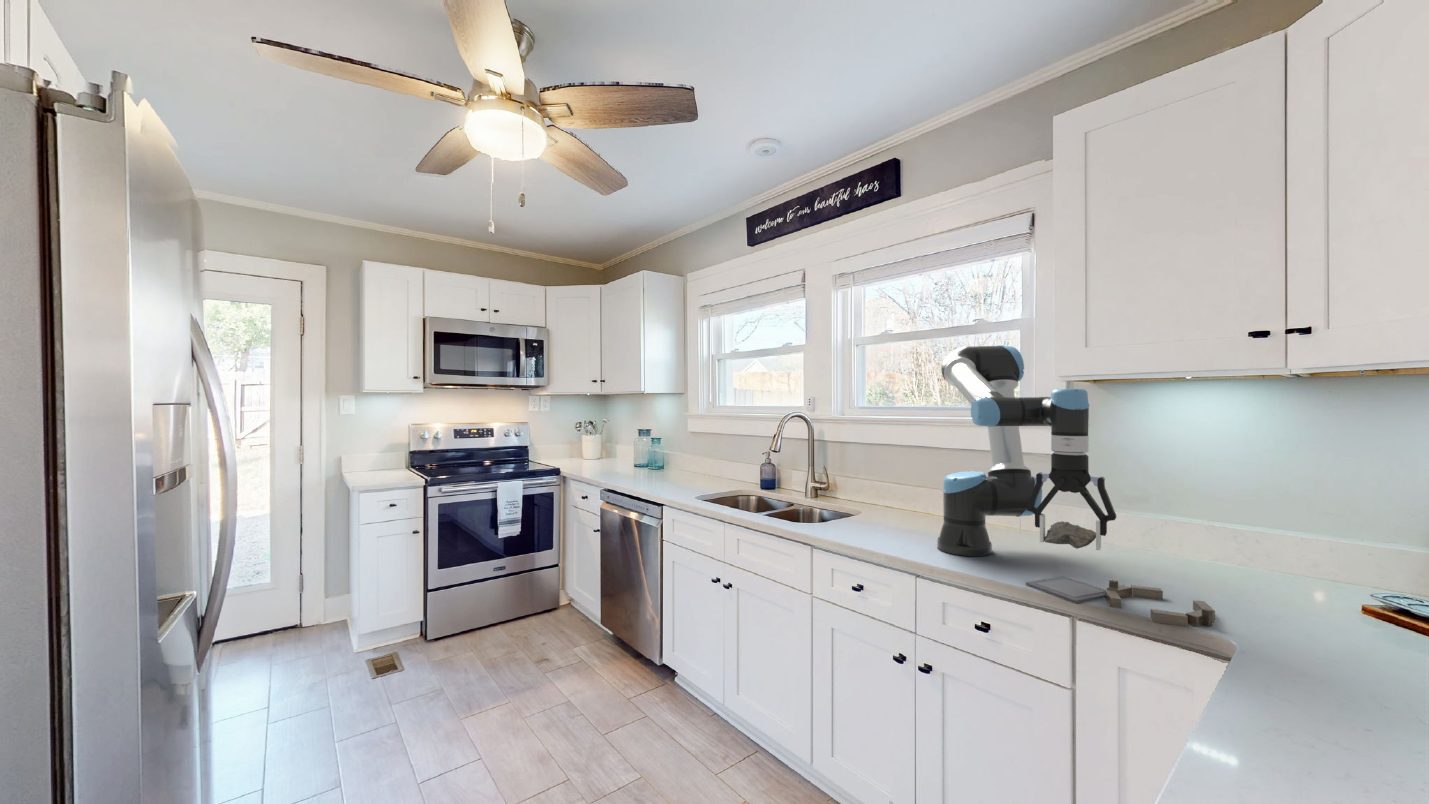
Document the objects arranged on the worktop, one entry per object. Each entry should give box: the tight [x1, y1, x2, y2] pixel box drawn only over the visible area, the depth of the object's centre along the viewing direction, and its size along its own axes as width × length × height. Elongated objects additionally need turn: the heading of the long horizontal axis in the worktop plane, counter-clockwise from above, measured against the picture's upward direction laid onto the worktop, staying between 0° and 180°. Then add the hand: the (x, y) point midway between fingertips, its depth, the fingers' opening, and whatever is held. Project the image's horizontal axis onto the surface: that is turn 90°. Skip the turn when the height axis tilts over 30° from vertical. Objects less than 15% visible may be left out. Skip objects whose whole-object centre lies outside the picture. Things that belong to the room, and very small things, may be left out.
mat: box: [1025, 575, 1106, 604], centre depth 133 cm, size 13×13×1 cm
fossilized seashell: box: [1044, 520, 1096, 549], centre depth 132 cm, size 11×10×7 cm
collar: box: [1104, 579, 1216, 628], centre depth 121 cm, size 20×17×3 cm
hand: (1069, 544), depth 132 cm, fingers closed on fossilized seashell, 11 cm apart
